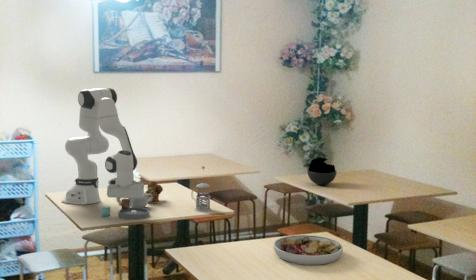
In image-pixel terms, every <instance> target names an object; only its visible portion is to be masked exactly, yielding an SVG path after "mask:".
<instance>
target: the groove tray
mask: <svg viewBox="0 0 476 280" xmlns="http://www.w3.org/2000/svg"><path fill="white" fill-rule="evenodd" d="M149 216H150V209H148V208H146V207H144V208H141V207H131V206H130V209H128V210H123V209H122V208H120V209H119V210H117V217H118V218H119V217H120V218H119V219H122V218H124V220H129V219H134V220H141V219H142V218H143V219H146V218H148V217H149ZM143 219H142V220H143Z"/></svg>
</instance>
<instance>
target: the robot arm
mask: <svg viewBox="0 0 476 280" xmlns="http://www.w3.org/2000/svg"><path fill="white" fill-rule="evenodd" d="M77 101H78V104H79V106H80V109H79V122H78V126H79V129H80V130H81V131H83V132H85V133H87V136H75V137H71V138H68V139H67V140H66V142H65V146H64V148H65V152H66V153H67V154H68V155H69V156H70V157H72V158H73V159H74V161H75V163H76V166H77V175H78V176H77V178H75V180H74V181H73V182H75V184H73V186H71V187H70V188H69V189H68V190H67V191H66V192H65V197H64V198H63V199H61V203H63V204H64V203H65V204H72V205H73V204H74V205H90V204H96V203H100V202H101V200H102V199H101V196H100V191H99V177H98V165H97V163H96V162H94V161H93V160H91V159H89V156H90V155H99V154H103V153H106V152H107V151H108V149H109V146H110V143H109V139H108V138H107V137H106V136H104V135H103V134H102V132H103V133H105V134H107V135H111V136H113V137H115V138H117V140H118V141H119V144H120V146H121V149H122V150H118V151H117V153H115V154H113V155H109V156H108V157H107V158H106V159H105V162H104V167H105V170H106V171H107V172H108V173H109V174H116V177H114V178H111V179H109V180H108V181H107V182H108V185H107V188H106V196H107V197H108V198H115V199H116V201H117V203H118V206H119V207H122V200H121V199H129V198H131V200H132V201H131V202H130V203H129V206H130V207H131V206H133V202H134V200H135V198H136V199H142V198H143V197H144V193H145V191H144V190H145V184H144V182H143V181H140V180H139V181H135V179H134V178H135V177H134V176H135V175H134V170H135V169H136V168H137V167H138V166H137V165H138V159H137V157H136V155H135V153H134V151H133V147H132V144H131V139H130V137H129V134H128V131H127V129H126V127H125V126H124V125H123V124H122V123H121V121H120V119H119V113H118V109H117V107H116V104H117V101H118V94H117V91H116V90H115V89H114V88H109V87H106V88H104V87H98V88H90V89H82V90H80V92H78V95H77ZM101 131H102V132H101Z"/></svg>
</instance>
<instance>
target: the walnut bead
mask: <svg viewBox="0 0 476 280" xmlns="http://www.w3.org/2000/svg"><path fill="white" fill-rule="evenodd" d="M121 202H122V206H121V209H123V210H128V209H130V207H131V206H129V203H130V199H129V198H121Z"/></svg>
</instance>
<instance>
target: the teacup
mask: <svg viewBox="0 0 476 280" xmlns="http://www.w3.org/2000/svg"><path fill="white" fill-rule="evenodd" d="M149 195H150V196H151V198H150V199H149V200H148V201H147V198H148V196H149ZM152 197H153V196H152V194H147V193H145V192H144V197H143V198H142V199H136V198H135V200H134V202H133V206H130V207H141V208H146V206H147V205H148V204H149V203H148V202H149V201H151V200H152ZM128 199H130V202H131V201H132V200H131V198H128Z"/></svg>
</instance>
